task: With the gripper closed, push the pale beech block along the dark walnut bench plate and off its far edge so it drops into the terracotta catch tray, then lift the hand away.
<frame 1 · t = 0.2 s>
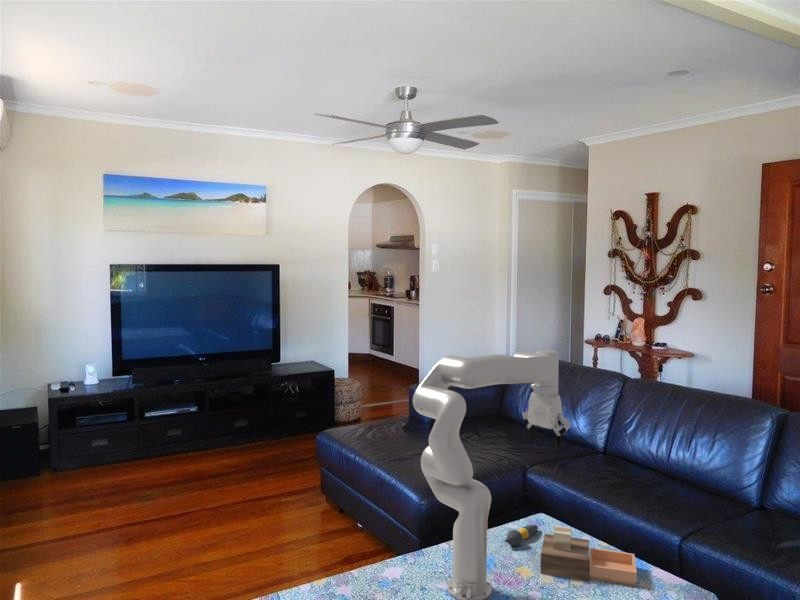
hand: (545, 443, 188), 36 cm above the table, fingers open, 9 cm apart
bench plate: (565, 565, 184), on the table
beech block: (562, 538, 184), point 8 cm above the table, touching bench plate
catch tray: (612, 572, 180), on the table
paintbrush: (521, 540, 202), on the table
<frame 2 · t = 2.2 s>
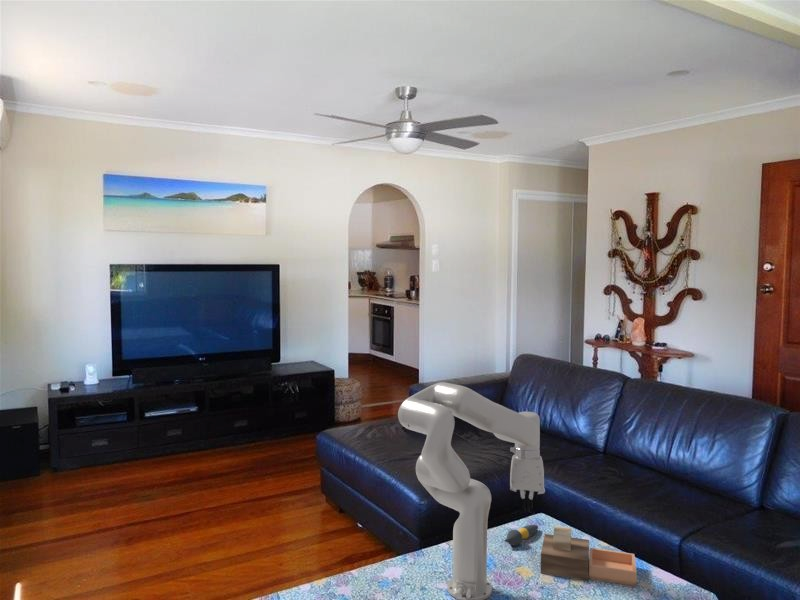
hand: (527, 509, 187), 16 cm above the table, fingers closed
nothing on the table moved.
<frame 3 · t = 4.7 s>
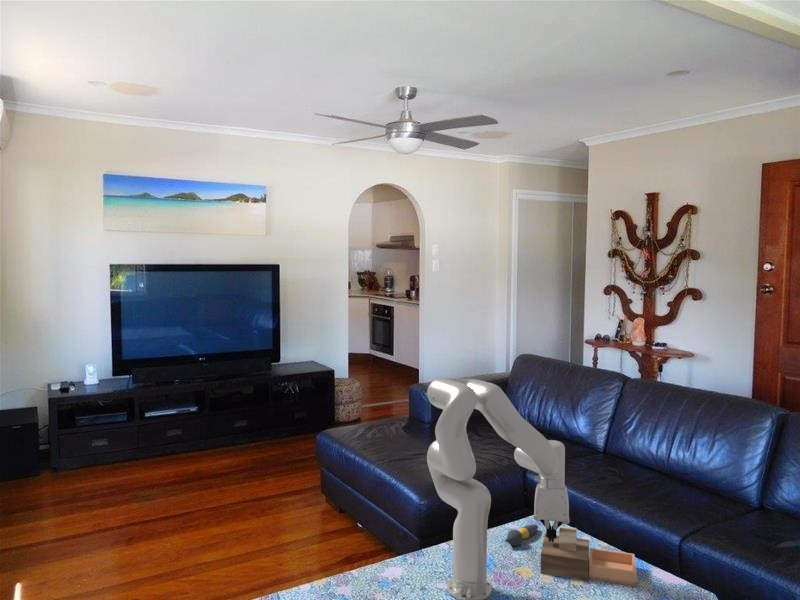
hand: (551, 539, 185), 7 cm above the table, fingers closed
beech block: (567, 538, 184), point 9 cm above the table, touching gripper
everything else where it was.
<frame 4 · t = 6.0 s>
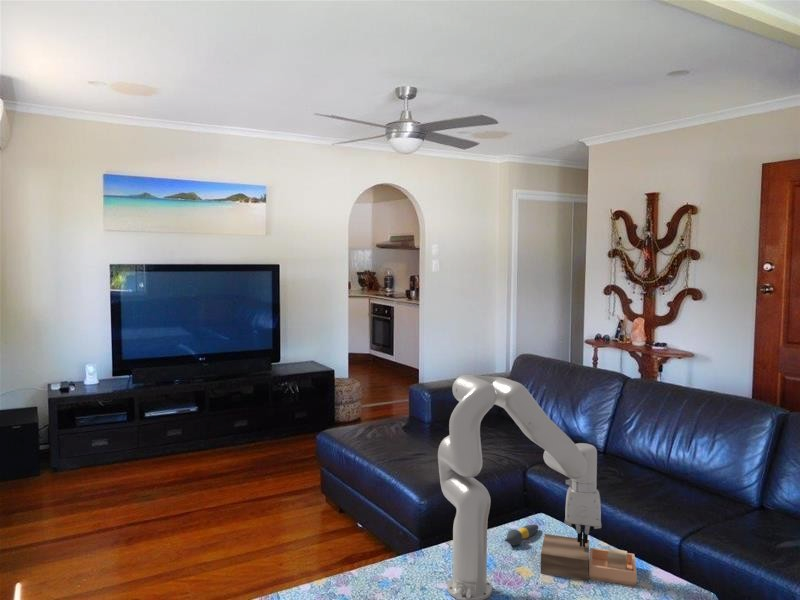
hand: (582, 544, 182), 7 cm above the table, fingers closed
beech block: (617, 561, 180), point 3 cm above the table, tilted 180°, touching catch tray
everything else where it was.
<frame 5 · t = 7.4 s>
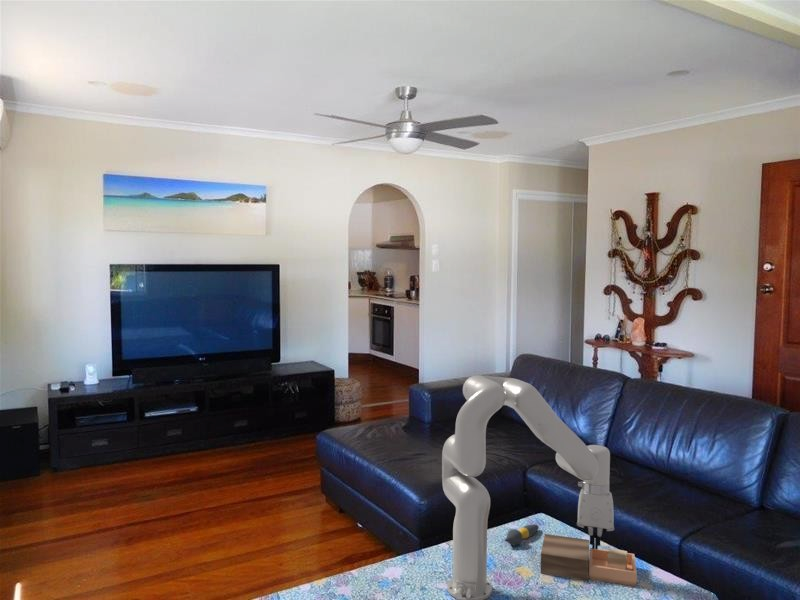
hand: (594, 547, 181), 7 cm above the table, fingers closed
nothing on the table moved.
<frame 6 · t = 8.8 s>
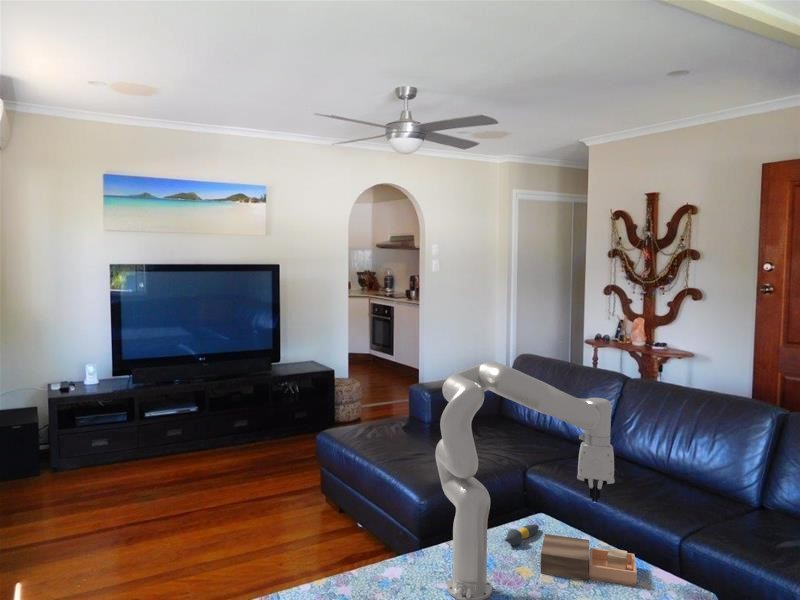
hand: (594, 500, 180), 22 cm above the table, fingers closed
nothing on the table moved.
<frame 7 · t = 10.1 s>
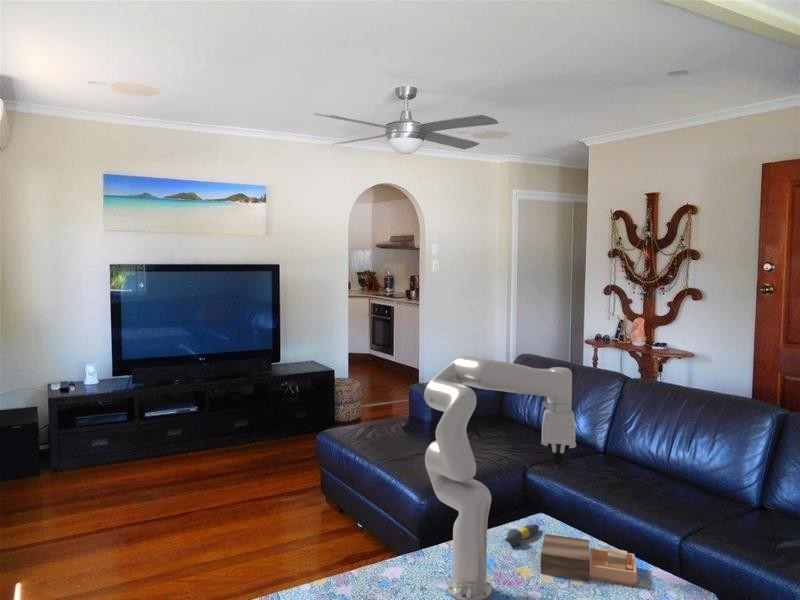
hand: (558, 464, 190), 29 cm above the table, fingers closed
nothing on the table moved.
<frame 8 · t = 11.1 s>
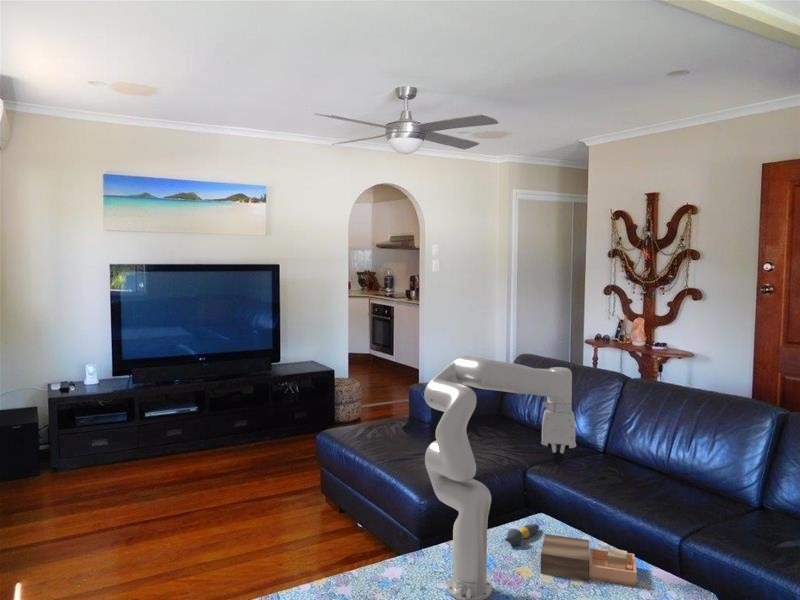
hand: (558, 464, 190), 29 cm above the table, fingers closed
nothing on the table moved.
at the end: beech block inside the target area on the catch tray (1.5 cm from its centre), point 3.5 cm above the catch tray's base; beech block point 3.5 cm above the table; the gripper is holding nothing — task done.
